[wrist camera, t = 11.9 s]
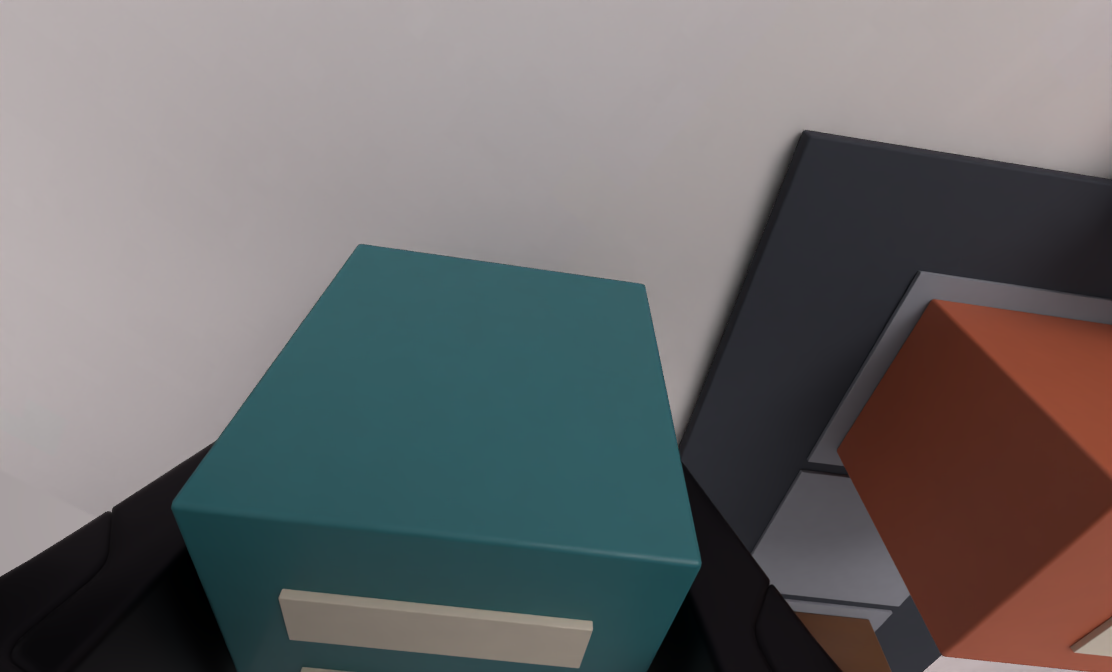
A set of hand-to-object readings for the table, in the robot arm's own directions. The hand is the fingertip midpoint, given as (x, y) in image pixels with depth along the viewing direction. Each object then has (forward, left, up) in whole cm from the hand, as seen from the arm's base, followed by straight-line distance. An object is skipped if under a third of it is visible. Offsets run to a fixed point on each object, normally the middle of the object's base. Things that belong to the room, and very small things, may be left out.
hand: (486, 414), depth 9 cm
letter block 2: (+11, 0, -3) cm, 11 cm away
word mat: (+11, -6, -4) cm, 13 cm away
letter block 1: (0, 0, -1) cm, 1 cm away
